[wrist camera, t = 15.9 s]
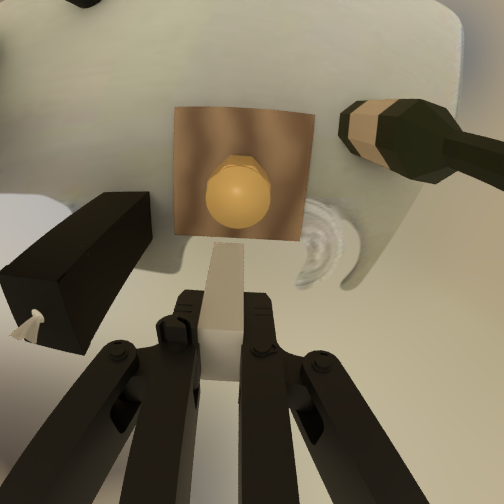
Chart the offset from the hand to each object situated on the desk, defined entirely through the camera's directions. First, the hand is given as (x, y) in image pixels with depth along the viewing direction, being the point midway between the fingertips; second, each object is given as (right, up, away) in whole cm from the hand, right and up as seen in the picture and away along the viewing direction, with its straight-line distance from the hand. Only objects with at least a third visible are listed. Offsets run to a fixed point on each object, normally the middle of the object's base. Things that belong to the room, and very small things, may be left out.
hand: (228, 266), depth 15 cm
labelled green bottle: (+17, +18, +21) cm, 33 cm away
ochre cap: (0, +9, +19) cm, 21 cm away
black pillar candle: (-18, +6, +26) cm, 32 cm away
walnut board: (0, +12, +24) cm, 26 cm away
